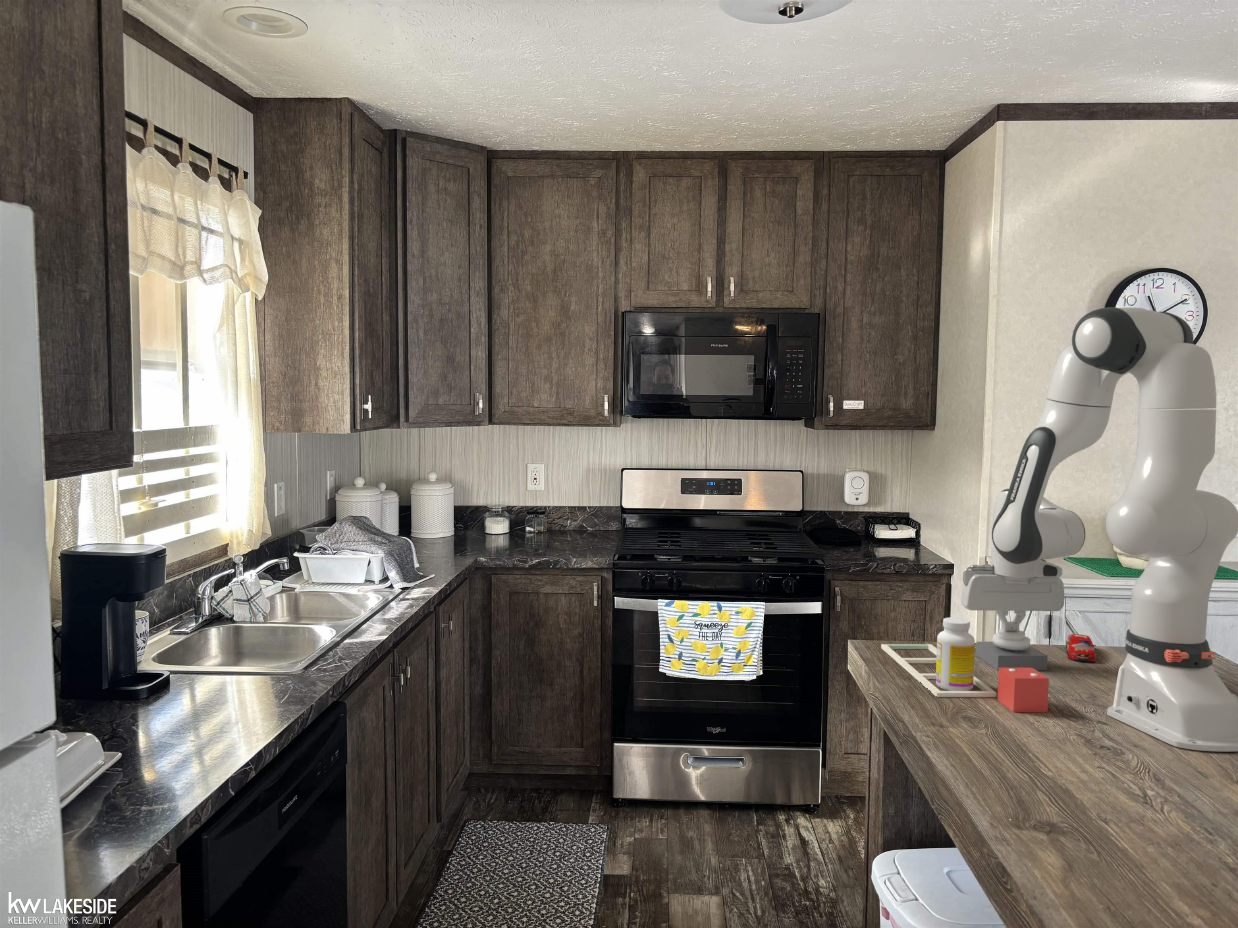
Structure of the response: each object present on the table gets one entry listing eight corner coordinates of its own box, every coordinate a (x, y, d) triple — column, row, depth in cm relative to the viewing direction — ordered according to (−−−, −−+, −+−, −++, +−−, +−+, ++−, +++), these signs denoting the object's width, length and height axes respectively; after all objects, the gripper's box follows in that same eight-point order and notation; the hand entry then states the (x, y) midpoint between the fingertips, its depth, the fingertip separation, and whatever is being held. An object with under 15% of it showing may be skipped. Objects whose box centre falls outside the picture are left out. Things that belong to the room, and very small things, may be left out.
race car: (1096, 666, 178) (1097, 647, 178) (1066, 662, 180) (1067, 643, 180) (1093, 649, 190) (1094, 631, 190) (1065, 646, 192) (1066, 628, 192)
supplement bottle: (980, 689, 162) (983, 621, 161) (958, 695, 159) (961, 626, 158) (950, 679, 168) (952, 614, 167) (927, 685, 164) (930, 618, 163)
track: (996, 696, 158) (996, 692, 158) (936, 696, 158) (936, 692, 158) (931, 647, 189) (931, 644, 189) (881, 647, 189) (881, 644, 189)
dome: (1036, 650, 175) (1037, 636, 175) (1002, 650, 175) (1002, 636, 175) (1019, 640, 182) (1020, 627, 182) (986, 640, 182) (987, 627, 182)
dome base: (1046, 670, 174) (1047, 655, 174) (997, 670, 174) (998, 655, 173) (1022, 655, 184) (1023, 641, 184) (975, 655, 184) (976, 641, 183)
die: (1047, 711, 151) (1049, 677, 150) (1013, 711, 151) (1014, 677, 150) (1030, 699, 157) (1031, 666, 156) (997, 699, 157) (998, 666, 156)
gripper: (970, 567, 174) (966, 635, 175) (1070, 568, 175) (1066, 635, 176) (957, 561, 180) (954, 626, 182) (1054, 562, 181) (1050, 627, 182)
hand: (1010, 630), depth 179 cm, fingers closed, pressing on dome
